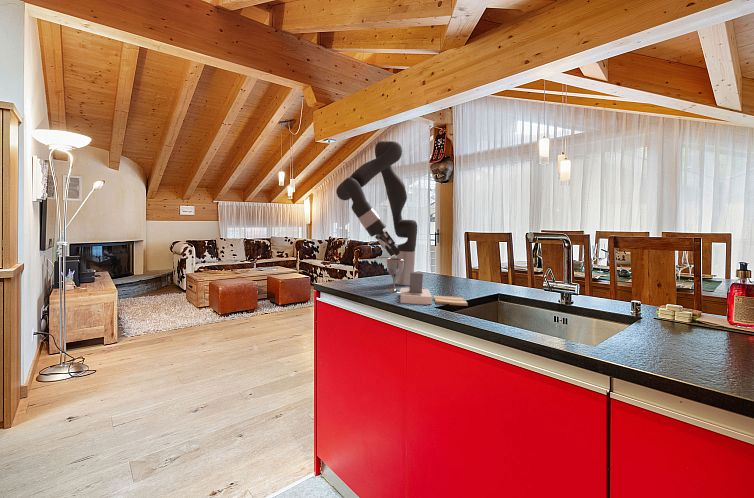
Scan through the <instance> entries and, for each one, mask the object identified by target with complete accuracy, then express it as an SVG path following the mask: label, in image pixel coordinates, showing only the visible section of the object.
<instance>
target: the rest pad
mask: <svg viewBox="0 0 754 498" xmlns="http://www.w3.org/2000/svg"><path fill="white" fill-rule="evenodd" d="M433 300H434V302H435V304H436V305H443V304H449V305H448V306H467V307H468V306H469V305H468V302H467V301H466V299H464V297H463V296H452V295H451V296H450V295H448V296H447V295H433Z"/></svg>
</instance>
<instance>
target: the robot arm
mask: <svg viewBox="0 0 754 498" xmlns="http://www.w3.org/2000/svg"><path fill="white" fill-rule="evenodd" d="M402 154H403V148H402V145H401V144H400V143H399V142H397V141H392V140H391V141H388V140H386V141H385V140H384V141H383V140H382V141H378V142H377V143H376V144H375V147H374V156H375V158H374V159H372V160H370V161H367V162H365V163H364V164H362V165H360V166H359V167H358V168H357V169H356V170H354V171H353V172H352V174H351V175H350V176H349V177H346V178H345V179H344V180H343V181H342V182H341V183H340V184H339V185H338V186H337V187H336V191H335V193H336V196H337V197H338V199H339V200H341V201H349V200H350V199H351V201H352V204H351V209H352V210H351V211H353V214H354V215H355V216H356V217H357V218H358V220H359V222H360V223H361V225H362V227H363V228H364V229H365V230H366V232H367V233H368V235H369V236H370V237H371V238H372V237H375V239H376V240H377V242H378V243H379V245H381V248H383V249H385V251H386V252H387V253H388V254H389V256H393V255H394V256H396V258H401V259H404V267H403V270H402V272H401V273H400V274H399V275H398V277H397V278H396V282H395V285H399V286H410V272H415V261H416V260H415V259H416V246H417V237H418V236H417V235H418V223H417V221H416V220H414V219H403V217H402V211H403V208H404V207H405V205H406V203H407V199H408V197H407V196H408V193H407V190H406V186H405V184H404V183H405V182H404V181H403V180H402V179H401V177H400V176H399V175H398V174H397V173H396V171H395V169H394V168H393V166H392V165H394V164H396V163H397V162H398V161H400V159H401V158H402ZM378 174H381V176H382V178H383V179H382V180H383V183H384V187H385V191H386V195H387V198H388V202H389V207H390V212H391V216H392V221H393V228H394V233H395V235H396V236H397V237H398V238H401V239H402V238H403V239H404V238H405V239H407V240H406V241H405V242H404V243H401V244H398V245H397V246H396V241H394V239H393V238H392V236H391V235H390V234H389V233H388V231H387V230H386V231H384V229H385V228H386V227H387V225H386V224H385V222H384V221H383V220H382V218H381V217H380V216H379V214H378V213H377V212H376V211H375V210H374V209H373V207H372V206H371V204H370V203H369V202H368V201H367V198H366V195H365V193H364V190H363V187H364V186H366V185H367V184H368V183H369V182H370V181H371V180H372V179H373V178H375V176H377V175H378Z"/></svg>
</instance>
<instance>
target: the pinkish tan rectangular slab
mask: <svg viewBox="0 0 754 498" xmlns="http://www.w3.org/2000/svg"><path fill="white" fill-rule="evenodd" d="M400 291H401V293H400V304H409V305H410V304H415V305H428V304H431V305H432V303H433V296H432V294H431V291H430V290H429V289H427V288H422V293H409V287H400ZM431 305H430V306H431Z"/></svg>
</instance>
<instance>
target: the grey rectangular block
mask: <svg viewBox="0 0 754 498" xmlns="http://www.w3.org/2000/svg"><path fill="white" fill-rule="evenodd" d="M423 275H424V273H423V272H419V271H418V272H417V271H414V272H410V285H408V288H409V293H422V289H423V278H424V276H423Z"/></svg>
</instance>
